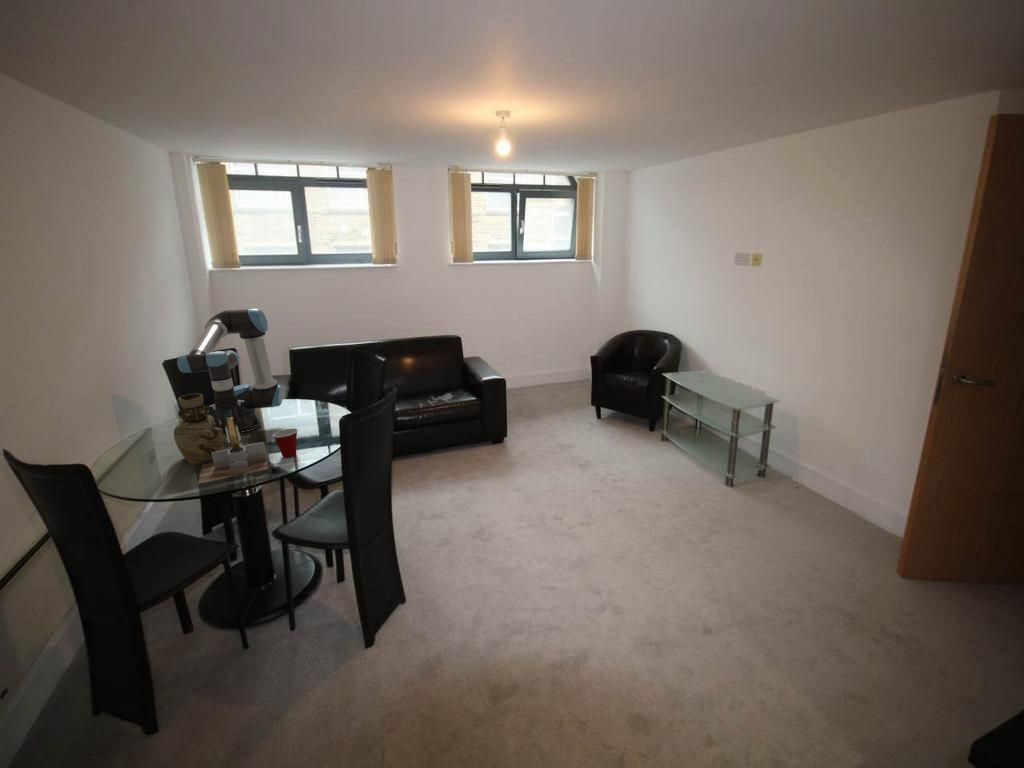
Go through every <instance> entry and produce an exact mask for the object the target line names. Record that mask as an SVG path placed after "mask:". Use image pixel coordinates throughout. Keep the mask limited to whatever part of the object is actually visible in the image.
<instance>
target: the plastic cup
mask: <svg viewBox="0 0 1024 768" xmlns="http://www.w3.org/2000/svg"><path fill="white" fill-rule="evenodd" d="M297 435H298V428H293V427H292V428H285V429H282V430H277V431H275V432H274V433H273V434H272V437H273V438H274V440H275V442H276V444H277V447H278V449H279V451H280V454H281V456H282V458H284V459H291V458H294V457H295V456H297V442H298V441H297V437H298V436H297Z"/></svg>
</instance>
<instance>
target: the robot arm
mask: <svg viewBox="0 0 1024 768" xmlns="http://www.w3.org/2000/svg"><path fill="white" fill-rule="evenodd" d="M268 330H269V326H268V320H267V317H266V315H265V313H264V311H262V309H260V308H243V309H242V308H241V309H227V310H223V311H220V312H219V313H216V314H214V315H213V316H212V317H211V318H210V319H209V320H208V321H207V322H206V323H205V325H204V331H203V333H201V335H200V336H199V339H198V340H197V341H196V343H195V344H194V346H193V347H192V349H191V350H190V351H189V353H188V354H183V355H179V356H178V358H177V361H176V362H177V367H178V370H179V371H180V372H181V373H188V374H189V373H191V374H192V373H201V372H209V373H208V374H209V377H210V381H211V387H212V390H213V396H214V400H215V401H214V403H213V404H211V405H209V406H208V409H209V412H211V414H212V416H213V417H214V420H215V423H216V427H217V428H222V430H223V434H224V436H226V438H227V443H229V444H231V442H230V437H229V433H228V428H227V426H226V427H225V425H226V411H229V413H230V417H234V420H235V425H236V431H237V436H238V441H239V442H240V441H241V434H240V432H242V431H247V430H251V429H254V428H257V427H259V426H260V425H261V424H262V420H261V418H260V417H259V415H258V414H257V412H256V410H257V409H267V408H275V407H280V406H281V405H282V403H283V399H284V390H283V386H282V384H279V383H278V381H277V380H276V379H274V377H273V374H272V373H273V372H272V369H271V365H270V361H269V357H268V356H269V355H268V353H267V348H266V344H265V340H264V337H265V335H266V332H267V331H268ZM233 334H234V335H235V334H239V338H240V339H242V340H243V341H244V344H245V349H246V351H247V355H248V359H249V363H250V367H251V371H252V375H253V379H254V383H253V384H252V386H251V384H249V383H245V384H240V385H239V384H238V385H236V386H234V383H233V378H232V373H231V370H232V369H233V368H235V367H236V366H238V364H239V363H240V356H239V354H238V353H237V352H236V351H234V350H230V349H229V350H224V351H223V350H220V351H215V350H216V349H217V347H218V344H219V343H220V341H221V340H222V339H223V338H225V337H226V336H227V335H233ZM216 407H217V408H218V409H220V410H221V411H220V412H221V421H220V420H219V417H218V414H217V410H216ZM219 421H220V422H221V424H220V422H219ZM259 428H260V427H259Z"/></svg>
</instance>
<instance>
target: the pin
mask: <svg viewBox="0 0 1024 768" xmlns="http://www.w3.org/2000/svg"><path fill="white" fill-rule="evenodd" d="M225 425H227V428H228V433H229V437H230V446H231V448H232V450H238V449H240V447H241V444H240V441H238V436H237V431H236V425H235V420H234V417H231V416H230V417H229V416H228V417H225Z"/></svg>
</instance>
